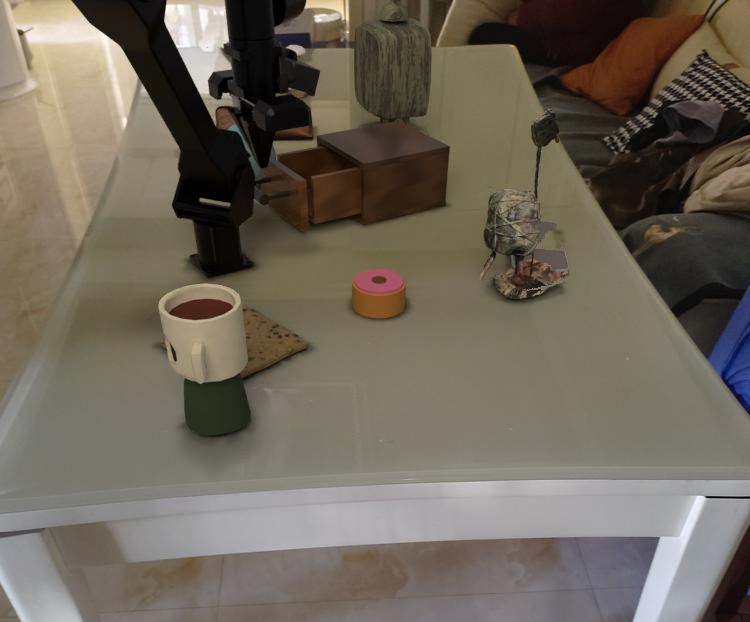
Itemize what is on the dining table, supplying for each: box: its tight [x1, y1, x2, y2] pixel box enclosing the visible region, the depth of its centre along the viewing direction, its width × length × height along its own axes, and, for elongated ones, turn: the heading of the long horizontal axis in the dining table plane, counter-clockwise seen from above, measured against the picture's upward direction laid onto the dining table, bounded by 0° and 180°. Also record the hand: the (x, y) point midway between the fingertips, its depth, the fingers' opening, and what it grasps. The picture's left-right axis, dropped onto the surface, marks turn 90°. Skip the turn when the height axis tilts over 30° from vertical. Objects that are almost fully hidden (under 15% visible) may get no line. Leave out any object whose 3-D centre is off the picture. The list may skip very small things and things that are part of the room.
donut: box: [351, 268, 407, 319], centre depth 90 cm, size 6×6×3 cm
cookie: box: [159, 305, 309, 379], centre depth 83 cm, size 12×12×1 cm
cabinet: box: [316, 120, 451, 226], centre depth 113 cm, size 15×14×9 cm
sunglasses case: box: [214, 105, 314, 141], centre depth 137 cm, size 18×7×7 cm
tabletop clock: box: [353, 0, 433, 128], centre depth 130 cm, size 14×9×25 cm, turn 22°
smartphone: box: [509, 220, 570, 276], centre depth 103 cm, size 7×1×15 cm
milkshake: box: [278, 41, 307, 99], centre depth 152 cm, size 4×5×10 cm
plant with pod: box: [478, 108, 564, 300], centre depth 88 cm, size 8×11×20 cm
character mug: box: [158, 282, 252, 436], centre depth 69 cm, size 11×7×13 cm, turn 3°
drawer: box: [254, 146, 361, 232], centre depth 108 cm, size 18×12×7 cm
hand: (263, 167), depth 103 cm, fingers closed
